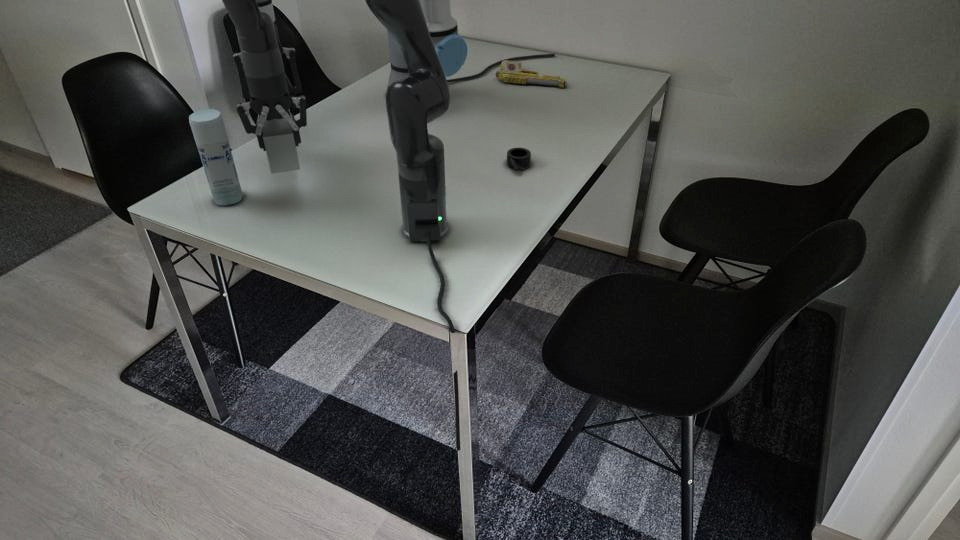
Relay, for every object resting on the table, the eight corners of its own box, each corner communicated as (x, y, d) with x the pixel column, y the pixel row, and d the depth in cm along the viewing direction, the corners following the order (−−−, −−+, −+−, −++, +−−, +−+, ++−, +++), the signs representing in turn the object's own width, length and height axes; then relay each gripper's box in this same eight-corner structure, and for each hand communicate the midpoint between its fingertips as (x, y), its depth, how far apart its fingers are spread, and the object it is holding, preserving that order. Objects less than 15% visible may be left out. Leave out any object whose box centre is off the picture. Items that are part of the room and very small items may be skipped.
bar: (300, 169, 134) (292, 133, 129) (271, 173, 133) (262, 137, 128) (291, 118, 155) (285, 85, 150) (266, 121, 154) (259, 88, 149)
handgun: (569, 72, 204) (565, 89, 193) (500, 66, 208) (492, 82, 196) (570, 65, 203) (566, 81, 191) (501, 58, 206) (492, 74, 195)
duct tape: (494, 167, 154) (494, 156, 152) (516, 151, 160) (516, 141, 158) (520, 176, 150) (521, 165, 148) (542, 160, 156) (543, 149, 155)
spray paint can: (212, 194, 144) (187, 111, 131) (242, 188, 145) (220, 107, 133) (214, 208, 139) (188, 124, 127) (244, 202, 141) (222, 119, 128)
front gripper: (300, 59, 128) (313, 135, 138) (226, 67, 125) (245, 144, 135) (303, 72, 123) (317, 150, 133) (225, 80, 119) (246, 160, 130)
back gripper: (301, 15, 142) (317, 111, 156) (212, 22, 138) (238, 121, 152) (303, 24, 136) (320, 124, 151) (211, 33, 132) (238, 134, 146)
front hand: (281, 146), depth 134 cm, fingers closed on bar, 6 cm apart
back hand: (279, 122), depth 151 cm, fingers closed on bar, 6 cm apart
